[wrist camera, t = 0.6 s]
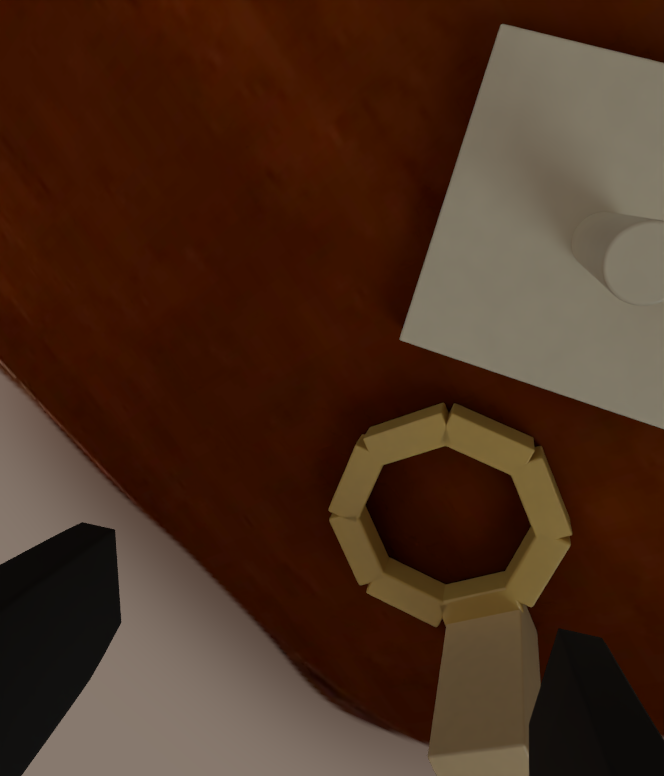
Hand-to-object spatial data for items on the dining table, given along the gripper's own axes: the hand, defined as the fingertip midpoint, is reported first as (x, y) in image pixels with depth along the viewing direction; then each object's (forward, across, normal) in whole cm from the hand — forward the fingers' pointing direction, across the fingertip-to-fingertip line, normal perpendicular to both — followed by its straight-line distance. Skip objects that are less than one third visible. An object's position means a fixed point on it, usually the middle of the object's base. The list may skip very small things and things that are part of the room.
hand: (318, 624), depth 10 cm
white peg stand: (+10, -5, -5) cm, 12 cm away
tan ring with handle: (+9, -2, +4) cm, 10 cm away
